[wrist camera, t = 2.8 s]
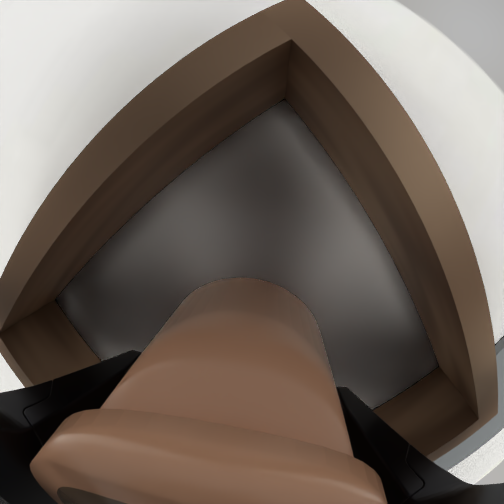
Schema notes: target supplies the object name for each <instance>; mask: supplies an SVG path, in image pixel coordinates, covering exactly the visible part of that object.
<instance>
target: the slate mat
mask: <svg viewBox="0 0 504 504" xmlns="http://www.w3.org/2000/svg"><path fill="white" fill-rule="evenodd" d="M495 352H496V362H497V377H498V414H497V415H496V416H494V417H493V418H492V419H491V420H490V421H489V422H487V423H486V424H485V425H484V426H483V427H481V428H480V429H479V430H478V431H476V432H475V433H474V434H473V435H471V436H470V437H469V438H467V439H466V440H465V441H463V442H462V443H460V444H459V445H458V446H456V447H455V448H453V449H452V450H450V451H449V452H447V453H446V454H444V455H443V456H441V457H440V458H438V459H437V460H435V461H433V462H434V463H435V464H437V465H438V466H440V467H441V468H443V469H444V470H446V471H447V470H449V469H451V468H452V467H454V466H455V465H457V464H458V463H460V462H461V461H462V460H464V459H465V458H467V457H468V456H470V455H471V454H472V453H474V452H475V451H476V450H478V449H479V448H480V447H481V446H483V445H484V444H485V443H486V442H488V441H489V440H490V439H491V438H493V437H494V436H495V435H496V434H497V433H498V432H500V431H501V430H502V429H503V428H504V337H503V338H502V339H501V340H500V341H499V342H498V343H497V344H496V345H495Z"/></svg>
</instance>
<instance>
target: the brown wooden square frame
mask: <svg viewBox="0 0 504 504" xmlns="http://www.w3.org/2000/svg"><path fill="white" fill-rule="evenodd" d="M283 99H286V100H287V102H288V103H289V104H290V105H291V106H292V108H293V109H294V110H295V111H296V113H297V114H298V115H299V116H300V118H301V119H302V120H303V121H304V123H305V124H306V125H307V126H308V128H309V129H310V130H311V132H312V133H313V134H314V136H315V137H316V138H317V140H318V141H319V142H320V144H321V145H322V146H323V148H324V149H325V151H326V152H327V153H328V155H329V156H330V158H331V159H332V160H333V162H334V163H335V165H336V166H337V168H338V169H339V171H340V172H341V173H342V175H343V176H344V178H345V179H346V181H347V182H348V184H349V186H350V187H351V189H352V190H353V192H354V193H355V195H356V196H357V198H358V200H359V201H360V203H361V204H362V206H363V208H364V209H365V211H366V213H367V214H368V216H369V218H370V219H371V221H372V223H373V225H374V226H375V228H376V230H377V231H378V233H379V235H380V237H381V239H382V240H383V242H384V244H385V246H386V248H387V250H388V251H389V253H390V255H391V257H392V259H393V261H394V263H395V265H396V267H397V269H398V271H399V273H400V275H401V277H402V279H403V281H404V283H405V285H406V287H407V289H408V291H409V293H410V295H411V298H412V300H413V302H414V304H415V306H416V309H417V311H418V313H419V316H420V318H421V320H422V323H423V325H424V327H425V330H426V332H427V335H428V337H429V340H430V342H431V345H432V348H433V350H434V353H435V356H436V359H437V361H438V364H439V367H438V368H436V369H435V370H434V371H432V372H431V373H430V374H428V375H427V376H426V377H424V378H423V379H421V380H420V381H419V382H417V383H416V384H414V385H413V386H411V387H410V388H408V389H407V390H405V391H404V392H402V393H401V394H399V395H397V396H396V397H394V398H393V399H391V400H389V401H388V402H386V403H384V404H383V405H381V406H379V407H378V408H376V409H374V410H372V411H373V412H375V413H376V414H377V415H378V416H379V417H380V418H381V419H382V420H384V421H385V422H386V423H387V424H388V425H389V426H390V427H391V428H393V429H394V430H395V431H396V432H397V433H398V434H399V435H401V436H402V437H403V438H404V439H405V440H406V441H407V442H409V445H410V444H411V445H412V446H413V447H415V448H416V449H417V450H418V451H419V452H421V453H422V454H423V455H424V456H426V457H427V458H428V459H430V460H431V461H432V462H433V461H435V460H437V459H438V458H440V457H441V456H443V455H444V454H446V453H447V452H449V451H450V450H452V449H453V448H455V447H456V446H458V445H459V444H460V443H462V442H463V441H465V440H466V439H467V438H469V437H470V436H471V435H473V434H474V433H475V432H476V431H478V430H479V429H480V428H481V427H483V426H484V425H485V424H486V423H487V422H489V421H490V420H491V419H492V418H493V417H494V416H496V415H497V414H498V377H497V362H496V352H495V343H494V336H493V329H492V323H491V317H490V312H489V307H488V302H487V297H486V293H485V289H484V285H483V281H482V277H481V273H480V270H479V266H478V263H477V259H476V256H475V253H474V250H473V247H472V244H471V241H470V238H469V235H468V232H467V230H466V227H465V224H464V222H463V219H462V217H461V214H460V212H459V209H458V207H457V204H456V202H455V200H454V198H453V195H452V193H451V191H450V189H449V187H448V185H447V182H446V180H445V178H444V176H443V174H442V172H441V170H440V168H439V166H438V164H437V163H436V161H435V159H434V157H433V155H432V153H431V152H430V150H429V148H428V146H427V145H426V143H425V141H424V139H423V138H422V136H421V134H420V133H419V131H418V130H417V128H416V126H415V125H414V123H413V122H412V120H411V119H410V117H409V116H408V114H407V113H406V111H405V110H404V108H403V107H402V105H401V104H400V102H399V101H398V100H397V98H396V97H395V95H394V94H393V93H392V91H391V90H390V89H389V87H388V86H387V85H386V83H385V82H384V81H383V80H382V78H381V77H380V76H379V75H378V73H377V72H376V71H375V70H374V69H373V67H372V66H371V65H370V64H369V63H368V61H367V60H366V59H365V58H364V57H363V56H362V55H361V53H360V52H359V51H358V50H357V49H356V48H355V47H354V46H353V45H352V44H351V43H350V42H349V41H348V40H347V38H346V37H345V36H344V35H343V34H342V33H341V32H340V31H339V30H338V29H337V28H336V27H334V26H333V25H332V24H331V23H330V22H329V21H328V20H327V19H326V18H325V17H324V16H323V15H322V14H320V13H319V12H318V11H317V10H316V9H315V8H314V7H312V6H311V5H310V4H309V3H308V2H306V1H305V0H284V1H282V2H280V3H277V4H275V5H273V6H271V7H269V8H266V9H264V10H262V11H260V12H258V13H256V14H254V15H252V16H250V17H248V18H247V19H245V20H243V21H241V22H239V23H237V24H236V25H234V26H232V27H230V28H229V29H227V30H225V31H224V32H222V33H220V34H219V35H217V36H215V37H214V38H212V39H211V40H209V41H207V42H206V43H204V44H203V45H201V46H200V47H198V48H197V49H195V50H194V51H192V52H191V53H190V54H188V55H187V56H185V57H184V58H183V59H181V60H180V61H178V62H177V63H176V64H174V65H173V66H172V67H170V68H169V69H168V70H167V71H165V72H164V73H163V74H161V75H160V76H159V77H158V78H156V79H155V80H154V81H153V82H152V83H150V84H149V85H148V86H147V87H146V88H145V89H143V90H142V91H141V92H140V93H139V94H138V95H137V96H135V97H134V98H133V99H132V100H131V101H130V102H129V103H128V104H127V105H126V106H125V107H124V108H122V109H121V110H120V111H119V112H118V113H117V114H116V115H115V116H114V117H113V118H112V119H111V120H110V121H109V122H108V123H107V124H106V125H105V126H104V127H103V129H102V130H101V131H100V132H99V133H98V134H97V135H96V136H95V137H94V138H93V139H92V140H91V142H90V143H89V144H88V145H87V146H86V147H85V148H84V149H83V151H82V152H81V153H80V154H79V155H78V157H77V158H76V159H75V160H74V161H73V163H72V164H71V165H70V166H69V168H68V169H67V170H66V171H65V173H64V174H63V175H62V177H61V178H60V179H59V181H58V182H57V183H56V185H55V186H54V187H53V189H52V190H51V192H50V193H49V194H48V196H47V197H46V199H45V200H44V202H43V203H42V205H41V206H40V208H39V209H38V211H37V212H36V214H35V215H34V217H33V219H32V220H31V222H30V223H29V225H28V227H27V228H26V230H25V232H24V234H23V235H22V237H21V239H20V241H19V242H18V244H17V246H16V248H15V250H14V252H13V254H12V255H11V257H10V259H9V261H8V263H7V265H6V267H5V270H4V272H3V274H2V276H1V278H0V353H1V354H2V356H3V357H4V359H5V360H6V362H7V363H8V365H9V366H10V368H11V369H12V370H13V372H14V373H15V375H16V376H17V377H18V379H19V380H20V381H21V383H22V384H23V385H24V386H25V388H26V387H30V386H34V385H37V384H40V383H44V382H47V381H50V380H52V381H53V379H56V378H58V377H61V376H64V375H67V374H70V373H73V372H75V371H78V370H81V369H84V368H86V367H89V366H92V365H94V364H97V363H100V362H101V361H100V360H99V358H98V357H97V356H96V355H95V354H94V352H93V351H92V350H91V349H90V348H89V346H88V345H87V344H86V343H85V341H84V340H83V339H82V337H81V336H80V335H79V333H78V332H77V331H76V329H75V328H74V327H73V325H72V324H71V323H70V321H69V320H68V318H67V317H66V316H65V314H64V313H63V311H62V310H61V308H60V307H59V305H58V304H57V302H56V301H55V299H56V298H57V296H58V295H59V294H60V293H61V292H62V290H63V289H64V288H65V287H66V286H67V285H68V283H69V282H70V281H71V280H72V279H73V278H74V277H75V275H76V274H77V273H78V272H79V271H80V270H81V269H82V268H83V267H84V265H85V264H86V263H87V262H88V261H89V260H90V259H91V258H92V257H93V256H94V255H95V254H96V253H97V251H98V250H99V249H100V248H101V247H102V246H103V245H104V244H105V243H106V242H107V241H108V240H109V239H110V238H111V237H112V236H113V235H114V234H115V233H116V232H117V231H118V230H119V229H120V228H121V227H122V226H123V225H124V224H125V223H126V222H127V221H128V220H129V219H130V218H132V217H133V216H134V215H135V214H136V213H137V212H138V211H139V210H140V209H141V208H142V207H143V206H144V205H146V204H147V203H148V202H149V201H150V200H151V199H152V198H153V197H154V196H156V195H157V194H158V193H159V192H160V191H161V190H162V189H163V188H165V187H166V186H167V185H168V184H169V183H170V182H172V181H173V180H174V179H175V178H176V177H178V176H179V175H180V174H181V173H182V172H184V171H185V170H186V169H187V168H188V167H190V166H191V165H192V164H193V163H195V162H196V161H197V160H198V159H200V158H201V157H202V156H204V155H205V154H206V153H207V152H209V151H210V150H211V149H213V148H214V147H215V146H217V145H218V144H219V143H221V142H222V141H223V140H225V139H226V138H227V137H229V136H230V135H231V134H233V133H234V132H236V131H237V130H238V129H240V128H241V127H243V126H244V125H245V124H247V123H248V122H250V121H251V120H253V119H254V118H256V117H257V116H258V115H260V114H261V113H263V112H264V111H266V110H267V109H269V108H270V107H272V106H274V105H275V104H277V103H278V102H280V101H281V100H283Z"/></svg>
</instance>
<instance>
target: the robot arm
mask: <svg viewBox="0 0 504 504" xmlns="http://www.w3.org/2000/svg"><path fill="white" fill-rule="evenodd" d="M140 355H141V352H138V351H135V350H131V351H128V352H126V353H123V354H121V355H118V356H115V357H113V358H110V359H108V360H105V361H102V362H100V363H97V364H94V365H92V366H89V367H86V368H84V369H81V370H78V371H75V372H73V373H70V374H67V375H64V376H61V377H58V378H56V379H53V381H52V380H50V381H47V382H44V383H40V384H37V385H34V386H30V387H26V388H22V389H18V390H13V391H8V392H3V393H0V504H58V503H57V502H56V501H55V500H54V499H53V498H51V497H50V496H49V495H48V494H47V493H46V491H45V490H44V489H43V488H42V487H41V486H40V485H39V483H38V482H37V480H36V479H35V478H34V476H33V474H32V472H31V470H30V463H31V461H32V460H33V459H34V457H35V456H36V455H37V454H38V452H39V451H40V450H41V448H42V447H43V446H44V445H45V443H46V442H47V441H48V440H49V438H50V437H51V436H52V435H53V433H54V432H55V431H56V430H57V428H58V427H59V426H60V425H61V423H62V422H63V421H64V420H65V419H66V418H67V417H69V416H70V415H72V414H74V413H77V412H81V411H84V410H92V409H100V408H101V406H102V405H103V404H104V402H105V401H106V400H107V398H108V397H109V396H110V394H111V393H112V392H113V390H114V389H115V388H116V386H117V385H118V384H119V382H120V381H121V380H122V378H123V377H124V376H125V374H126V373H127V372H128V370H129V369H130V368H131V366H132V365H133V364H134V362H135V361H136V360H137V359H138V357H139V356H140ZM336 389H337V392H338V396H339V400H340V404H341V407H342V411H343V415H344V419H345V423H346V427H347V431H348V435H349V439H350V443H351V448H352V452H353V456H354V458H356V459H358V460H360V461H362V462H364V463H365V464H367V465H368V466H370V467H371V468H372V469H374V470H375V471H376V473H377V474H378V475H379V477H380V478H381V481H382V485H383V488H384V492H385V496H386V500H387V504H504V483H500V484H489V485H472V484H468V483H466V482H463V481H462V480H460V479H458V478H457V477H455V476H454V475H452V474H450V473H449V472H447V471H446V470H444V469H443V468H441V467H440V466H438V465H437V464H435V463H434V462H432V461H431V460H430V459H428V458H427V457H426V456H424V455H423V454H422V453H421V452H419V451H418V450H417V449H416V448H415V447H413V446H412V445H411V444H410V445H409V442H407V441H406V440H405V439H404V438H403V437H402V436H401V435H399V434H398V433H397V432H396V431H395V430H394V429H393V428H391V427H390V426H389V425H388V424H387V423H386V422H385V421H384V420H382V419H381V418H380V417H379V416H378V415H377V414H376V413H375V412H373V411H372V410H371V409H370V408H369V407H368V406H367V405H366V404H365V403H364V402H362V401H361V400H360V399H359V398H358V397H357V396H356V395H355V394H354V393H353V392H352V391H350V390H349V389H348V388H347V387H336Z"/></svg>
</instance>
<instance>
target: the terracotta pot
mask: <svg viewBox="0 0 504 504" xmlns="http://www.w3.org/2000/svg"><path fill="white" fill-rule="evenodd" d="M30 470H31V472H32V474H33V476H34V478H35V479H36V480H37V482H38V483H39V485H40V486H41V487H42V488H43V489H44V490H45V491H46V493H47V494H48V495H49V496H50V497H51V498H53V499H54V500H55V501H56V502H57V503H58V504H387V500H386V496H385V492H384V488H383V485H382V481H381V478H380V477H379V475H378V474H377V473H376V471H375V470H374V469H372V468H371V467H370V466H368V465H367V464H365V463H364V462H362V461H360V460H358V459H356V458H354V456H353V452H352V448H351V443H350V439H349V435H348V431H347V427H346V423H345V419H344V415H343V411H342V407H341V404H340V400H339V396H338V392H337V389H336V385H335V381H334V378H333V374H332V370H331V367H330V363H329V360H328V356H327V353H326V349H325V346H324V343H323V339H322V336H321V333H320V329H319V326H318V324H317V322H316V319H315V318H314V316H313V314H312V313H311V311H310V310H309V309H308V307H307V306H306V305H305V304H304V303H303V302H302V301H301V300H300V299H299V298H298V297H297V296H295V295H294V294H292V293H291V292H289V291H288V290H286V289H284V288H282V287H280V286H278V285H276V284H273V283H270V282H268V281H264V280H259V279H254V278H245V277H239V278H226V279H221V280H217V281H213V282H210V283H208V284H206V285H203V286H201V287H200V288H198V289H196V290H195V291H193V292H192V293H191V294H189V295H188V296H187V297H186V298H185V299H184V300H183V301H182V302H181V303H180V305H179V306H178V307H177V308H176V310H175V311H174V312H173V314H172V315H171V316H170V317H169V319H168V320H167V321H166V322H165V324H164V325H163V326H162V328H161V329H160V330H159V331H158V333H157V334H156V335H155V336H154V338H153V339H152V340H151V342H150V343H149V344H148V346H147V347H146V348H145V349H144V351H143V352H142V353H141V355H140V356H139V357H138V359H137V360H136V361H135V362H134V364H133V365H132V366H131V368H130V369H129V370H128V372H127V373H126V374H125V376H124V377H123V378H122V380H121V381H120V382H119V384H118V385H117V386H116V388H115V389H114V390H113V392H112V393H111V394H110V396H109V397H108V398H107V400H106V401H105V402H104V404H103V405H102V406H101V408H100V409H92V410H84V411H81V412H77V413H74V414H72V415H70V416H69V417H67V418H66V419H65V420H64V421H63V422H62V423H61V425H60V426H59V427H58V428H57V430H56V431H55V432H54V433H53V435H52V436H51V437H50V438H49V440H48V441H47V442H46V443H45V445H44V446H43V447H42V448H41V450H40V451H39V452H38V454H37V455H36V456H35V457H34V459H33V460H32V461H31V463H30Z"/></svg>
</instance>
